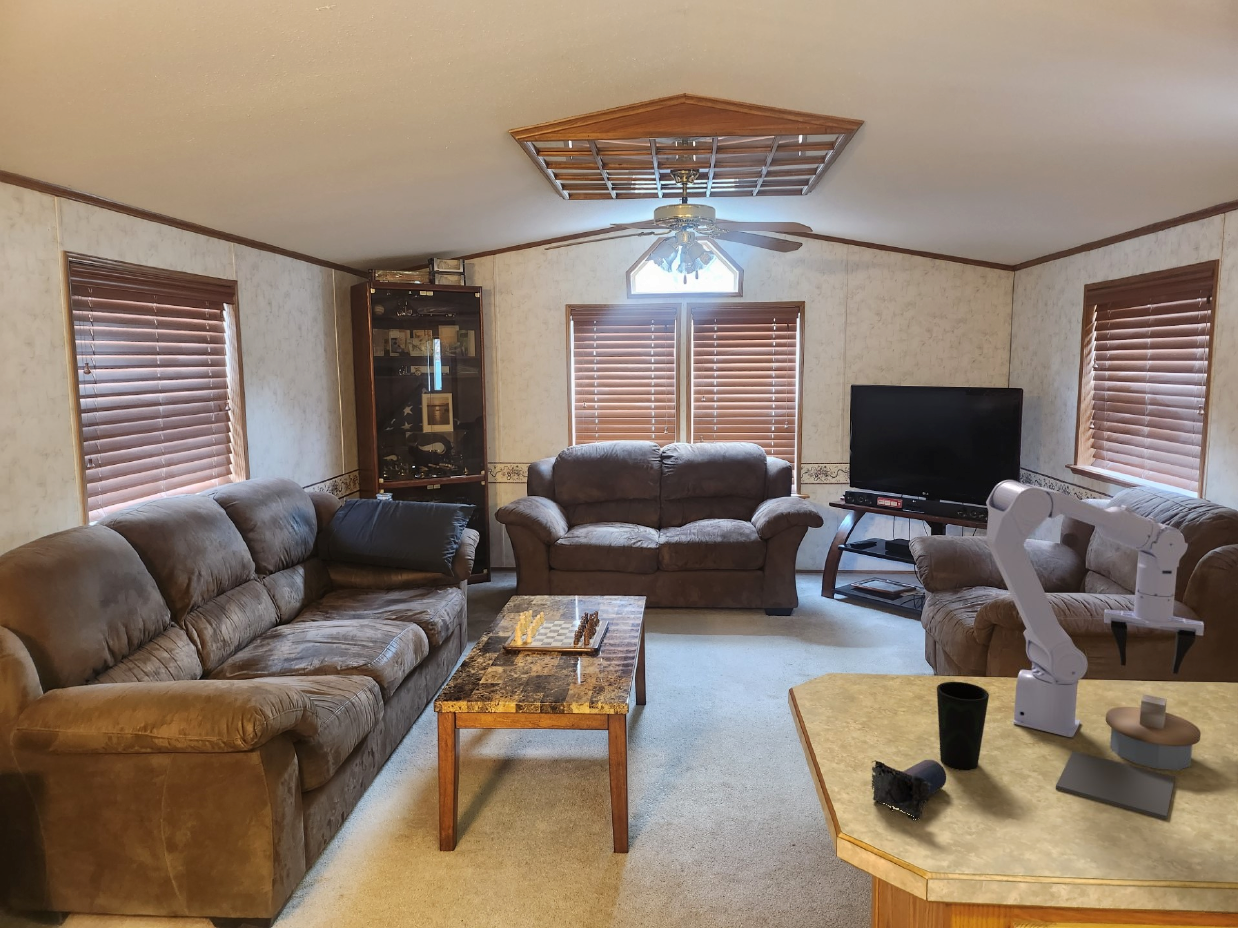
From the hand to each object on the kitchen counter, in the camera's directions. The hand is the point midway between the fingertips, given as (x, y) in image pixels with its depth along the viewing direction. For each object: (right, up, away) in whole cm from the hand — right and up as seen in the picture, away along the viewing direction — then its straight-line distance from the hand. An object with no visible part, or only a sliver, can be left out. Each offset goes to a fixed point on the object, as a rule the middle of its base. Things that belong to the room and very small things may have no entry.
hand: (1148, 667), depth 147 cm
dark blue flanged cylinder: (-49, -14, -23) cm, 56 cm away
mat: (-17, -13, -19) cm, 29 cm away
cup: (-38, -12, -12) cm, 42 cm away
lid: (-6, -7, -10) cm, 14 cm away
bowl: (-6, -12, -9) cm, 16 cm away
